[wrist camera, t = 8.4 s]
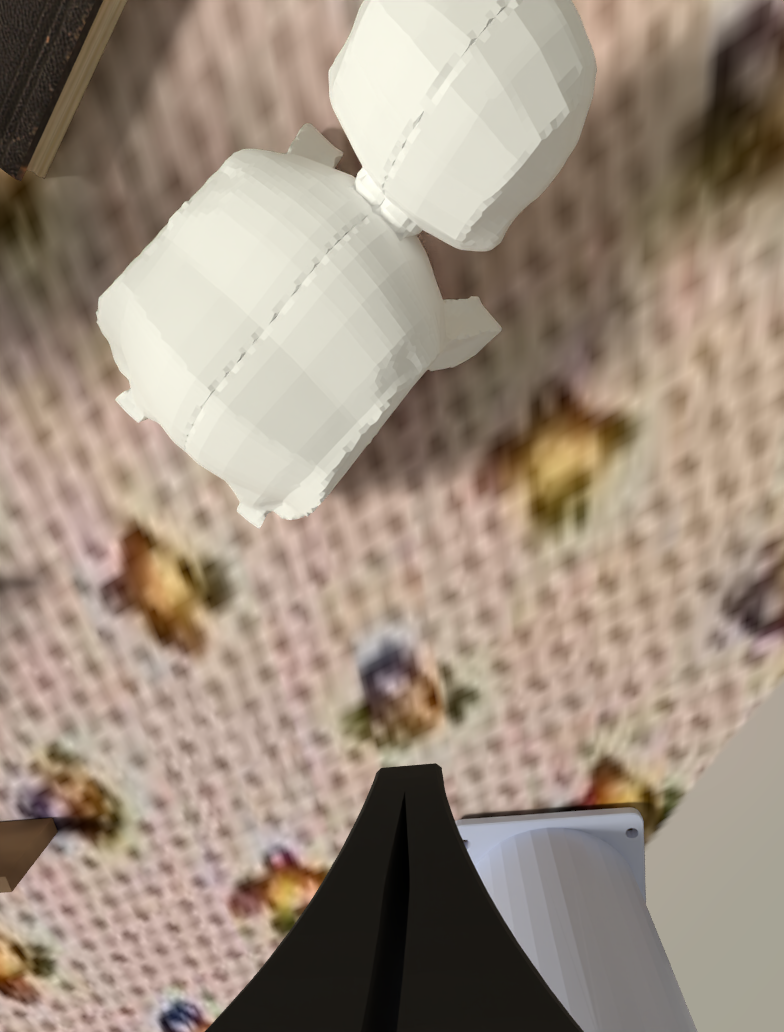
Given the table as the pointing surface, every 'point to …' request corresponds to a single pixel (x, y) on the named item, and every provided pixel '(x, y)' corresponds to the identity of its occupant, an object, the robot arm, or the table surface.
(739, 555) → the table surface
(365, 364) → the white double-lobed plush
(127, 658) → the table surface
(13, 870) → the box
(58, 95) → the hardcover book
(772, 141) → the table surface
